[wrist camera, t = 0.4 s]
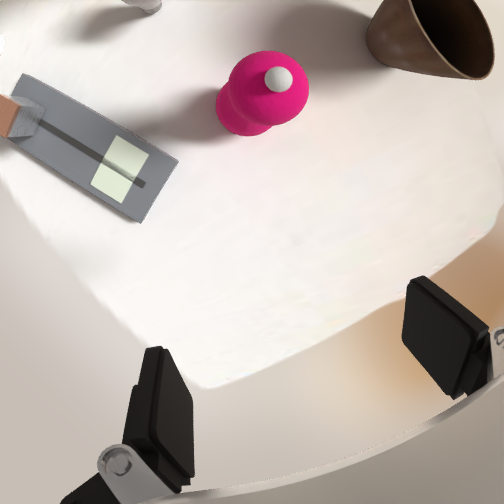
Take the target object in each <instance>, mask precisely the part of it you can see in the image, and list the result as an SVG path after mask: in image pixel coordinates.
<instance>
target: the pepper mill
mask: <svg viewBox="0 0 504 504" xmlns="http://www.w3.org/2000/svg"><path fill="white" fill-rule="evenodd" d="M308 94H309V84H308V79H307V76H306V74H305V72H304V70H303V69H302V67H301V66H300V65H299V64H298V63H297V62H296V61H295V60H294V59H293V58H291V57H289V56H288V55H286V54H283V53H280V52H276V51H260V52H256V53H252V54H250V55H248V56H246V57H245V58H243V59H242V60H241V61H240V62H238V63H237V65H236V66H235V67H234V69H233V70H232V72H231V74H230V77H229V81H228V82H227V83H226V84H225V85H224V86H223V87H222V89H221V90H220V92H219V94H218V96H217V99H216V112H217V116H218V118H219V120H220V122H221V123H222V124H223V126H224V127H225V128H227V129H228V130H229V131H231V132H233V133H235V134H237V135H241V136H255V135H259V134H262V133H264V132H265V131H267V130H268V129H270V128H271V127H272V126H274V125H279V124H283V123H285V122H287V121H290V120H291V119H293V118H294V117H296V116H297V115H298V114H299V113H300V112H301V110H302V109H303V107H304V106H305V104H306V102H307V99H308Z"/></svg>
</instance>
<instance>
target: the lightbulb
mask: <svg viewBox="0 0 504 504" xmlns="http://www.w3.org/2000/svg"><path fill="white" fill-rule="evenodd" d="M122 1H123V2H125V3H127V4H129V5H137V6H139V7H140V8H142V9H143V11H144V12H145V13H148V14H152V13H155V12H157V11H158V10H160V8H161V6H162V3H161V0H122Z"/></svg>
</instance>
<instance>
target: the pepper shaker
mask: <svg viewBox="0 0 504 504" xmlns="http://www.w3.org/2000/svg"><path fill="white" fill-rule="evenodd" d="M4 44H5V41H4V39H3V37H2V36H1V35H0V55H1V53H2V51H3V47H4Z"/></svg>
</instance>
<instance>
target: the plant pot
mask: <svg viewBox="0 0 504 504" xmlns="http://www.w3.org/2000/svg"><path fill="white" fill-rule="evenodd" d="M366 42H367V45H368V48H369V50H370V51H371V53H372V54H373V56H374V57H375V58H376V59H377V60H378V61H380V62H381V63H383V64H384V65H387V66H390V67H393V68H397V69H401V70H405V71H410V72H415V73H420V74H426V75H432V76H440V77H448V78H459V79H470V80H482V79H484V78H486V77H487V76H488V75H489V74H490V73H491V70H492V68H493V65H494V57H495V53H494V43H493V39H492V35H491V32H490V29H489V26H488V24H487V21H486V19H485V17H484V15H483V14H482V12H481V10H480V8H479V7H478V5H477V4H476V2H475V1H474V0H384V1H383V2H382V3H381V5H380V6H379V8H378V10H377V11H376V13H375V15H374V17H373V19H372V21H371V23H370V25H369V28H368V31H367V34H366Z"/></svg>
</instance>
